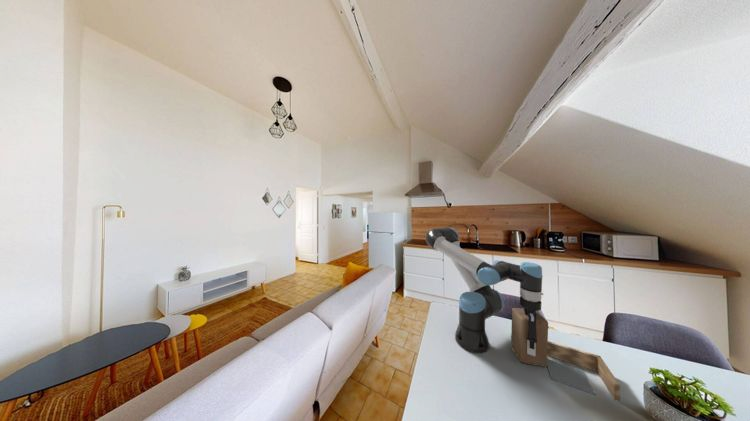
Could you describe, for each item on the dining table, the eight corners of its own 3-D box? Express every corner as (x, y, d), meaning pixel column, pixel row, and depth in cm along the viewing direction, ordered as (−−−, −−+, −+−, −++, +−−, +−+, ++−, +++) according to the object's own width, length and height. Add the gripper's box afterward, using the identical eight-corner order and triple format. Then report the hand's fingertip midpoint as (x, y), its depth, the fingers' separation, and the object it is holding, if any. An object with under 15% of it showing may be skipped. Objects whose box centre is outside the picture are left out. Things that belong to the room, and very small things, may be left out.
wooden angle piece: (554, 378, 77) (554, 363, 76) (545, 353, 90) (546, 340, 89) (619, 401, 68) (619, 385, 67) (599, 370, 80) (600, 356, 80)
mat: (551, 379, 76) (551, 378, 76) (544, 358, 86) (544, 357, 86) (595, 394, 70) (595, 394, 70) (582, 370, 80) (582, 370, 80)
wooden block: (548, 368, 81) (549, 321, 81) (521, 363, 83) (522, 318, 83) (533, 350, 91) (535, 308, 90) (510, 347, 93) (511, 306, 93)
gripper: (547, 313, 74) (545, 368, 75) (536, 289, 94) (535, 333, 95) (522, 308, 78) (521, 360, 79) (517, 286, 98) (516, 328, 99)
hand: (529, 345), depth 87 cm, fingers closed on wooden block, 12 cm apart
